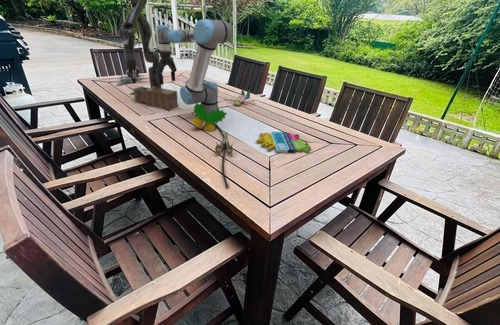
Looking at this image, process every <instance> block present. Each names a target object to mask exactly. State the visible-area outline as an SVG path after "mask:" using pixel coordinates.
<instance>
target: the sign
mask: <svg viewBox="0 0 500 325" xmlns="http://www.w3.org/2000/svg"><path fill="white" fill-rule="evenodd" d="M299 136H300V135H299V134H298V133H296V134H294V133H291V132H287V131H270V132H264V133H263V132H260V133H259V139H258V138H257V139H256V143H257V144H261V148H263V147H264V148H265V149H267V151H268V152H271V151H272V150H273V149H275V152H276V153H283V154H285V153H287V154H288V153H290V154H293V153H296V152H298V153H301V152H305V153H310V151H311V150H312V149H311V148H312V146H309V142H304V141H303V139H302V138H299Z"/></svg>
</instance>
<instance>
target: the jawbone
mask: <svg viewBox="0 0 500 325" xmlns="http://www.w3.org/2000/svg"><path fill="white" fill-rule="evenodd" d="M223 135H224V139H223V140H222V139H221V142H220V144H218V142H215V144H216V146H215V148H214V149H215V152H214V154H215V155H217V156H218V155H220V153H221V152H224V148H225V151H226V152H227V153H228V155H229V156H233V155H234V154H233V153H234V148H233V144H234V143H230V140H228V139H229V138H228V137H229V136H228V135H229V133H228V131H226V132H224V133H223Z"/></svg>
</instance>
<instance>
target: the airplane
mask: <svg viewBox="0 0 500 325" xmlns="http://www.w3.org/2000/svg"><path fill="white" fill-rule="evenodd" d="M137 69H138V70H140V67H139V66H137ZM116 76H118V77H120V78H119V80H120V81H118V82H117V83H116V84H115V85H114V86H115V87H116V86H117V87H119V86H122V85H124V84H127V83H132V79H131V78H129V77H128V76H127V75H121V74H117V75H116ZM142 77H143V79H144V80H145V79H146V80H147V79H148V77H145V74H138V77H136V81H137V82H140V81H142Z"/></svg>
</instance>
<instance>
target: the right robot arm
mask: <svg viewBox="0 0 500 325" xmlns="http://www.w3.org/2000/svg"><path fill="white" fill-rule="evenodd" d="M233 34H234V33H233V27H232V26H231V24H230V23H229V22H228V21H226V20H223V19H208V18H205V19H204V18H203V19H200V20H198V21H197V22H196V23H195V24H194V27H193V29H170V27H169V26H168V25H166V24H157V25H156V36H157V43H158V50H159V51H158V54H159V57H160V59H158V64H157V70H156V74H158V76H159V82H160V84H161V86H162V85H163V86H164V75H163V72H164V70H165V67H167V66H168V68H169V69H170V76H171V77H170V78H171V81H172V82H176V72H177V67H176V64H175V60H174V57H172V52H171V50H172V49H171V44H182V43H183V44H184V43H191V44H192V43H193V44H194V43H195V44H196V46H197V47H196V51H195V55H194V59H193V63H192V67H191V70H190V75H189V79H187V80H186V81H185V85H184V86H181V87H180V88H179V96H180V98H181V101H182V102H183V103H184V104H185V105H188V106H189V105H194V104H195V105H196V102H197V103H198V104H201V106H204V109H206V112H208V113H211V112H212V110H214V111H216V110H217V109H219V111H221V110H220V108H219V102H218V99H219V98H218V97H219V88H218V84H217V82H214V81H210V80H205V77H206V74H207V70H208V67H209V64H210V60H211V58H212V54H213V52H214V51H216V50H217V47H218V44H226V43H229V41H230V40H231V39H232V38H233ZM208 113H207V115H208ZM213 124H214V126H215V127H216V128H217V129H218V130H219V131H220V133H221V135H222V138H223V140H224V133H223V130H222V129H221V128H220V127H219V126H218V124H217V123H213ZM222 152H223V154H222V160H221V169H222V170H221V171H222V178H223V180H224V183H225V186H226V188H229V184H228V182H227V179H226V174H225V157H226V156H225V155H226V149H225V148H224V149H223V151H222Z"/></svg>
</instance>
